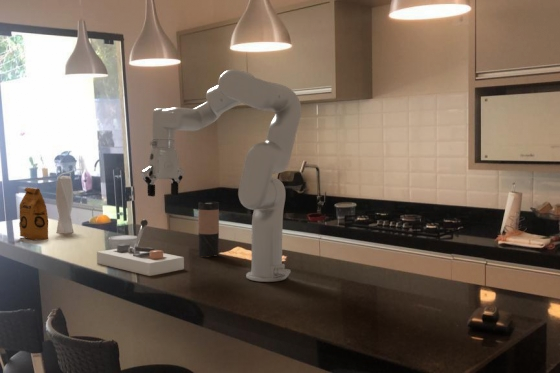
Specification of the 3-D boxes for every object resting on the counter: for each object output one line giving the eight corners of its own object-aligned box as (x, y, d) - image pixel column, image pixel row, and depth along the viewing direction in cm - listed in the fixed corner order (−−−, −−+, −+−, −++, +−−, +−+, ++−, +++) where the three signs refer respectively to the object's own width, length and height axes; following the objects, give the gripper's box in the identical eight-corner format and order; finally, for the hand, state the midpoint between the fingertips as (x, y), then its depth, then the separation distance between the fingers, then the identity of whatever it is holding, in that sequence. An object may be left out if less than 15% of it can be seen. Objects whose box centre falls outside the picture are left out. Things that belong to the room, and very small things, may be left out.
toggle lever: (138, 254, 195) (150, 221, 199) (132, 252, 194) (144, 218, 197) (133, 253, 197) (145, 220, 200) (128, 251, 195) (140, 218, 198)
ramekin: (105, 249, 226) (105, 236, 225) (134, 247, 231) (134, 234, 230) (111, 254, 216) (111, 240, 215) (141, 252, 221) (141, 238, 220)
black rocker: (153, 252, 193) (154, 248, 193) (141, 251, 189) (141, 247, 189) (148, 251, 195) (148, 247, 195) (135, 250, 191) (136, 246, 191)
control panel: (183, 269, 190) (183, 251, 190) (149, 275, 179) (149, 257, 179) (130, 257, 209) (130, 241, 208) (96, 263, 198) (96, 246, 197)
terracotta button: (166, 260, 188) (166, 251, 188) (155, 262, 185) (155, 253, 185) (157, 259, 191) (157, 249, 191) (146, 261, 188) (146, 251, 188)
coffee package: (28, 241, 241) (28, 189, 240) (17, 237, 250) (16, 187, 249) (52, 238, 249) (51, 188, 247) (39, 235, 257) (39, 186, 256)
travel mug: (215, 258, 210) (215, 203, 209) (195, 257, 211) (195, 203, 210) (221, 254, 217) (221, 201, 216) (202, 253, 219) (202, 201, 218)
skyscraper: (64, 231, 272) (63, 172, 270) (77, 231, 270) (77, 172, 268) (52, 233, 264) (52, 172, 262) (66, 234, 262) (65, 173, 260)
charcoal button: (132, 253, 200) (132, 244, 200) (122, 255, 196) (121, 246, 196) (125, 252, 203) (125, 243, 202) (114, 254, 199) (114, 244, 199)
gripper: (149, 145, 185) (148, 197, 187) (190, 145, 198) (190, 195, 200) (135, 144, 190) (135, 195, 192) (176, 145, 203) (176, 193, 205)
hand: (163, 195), depth 196 cm, fingers open, 9 cm apart
